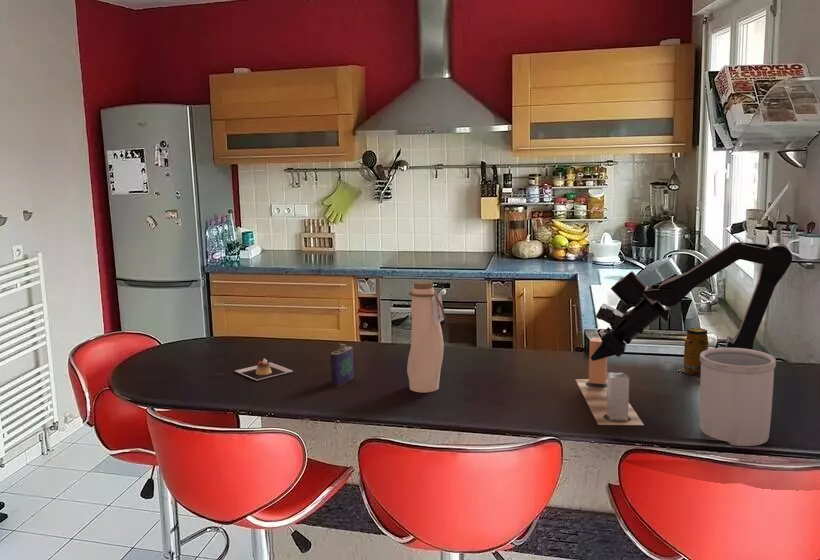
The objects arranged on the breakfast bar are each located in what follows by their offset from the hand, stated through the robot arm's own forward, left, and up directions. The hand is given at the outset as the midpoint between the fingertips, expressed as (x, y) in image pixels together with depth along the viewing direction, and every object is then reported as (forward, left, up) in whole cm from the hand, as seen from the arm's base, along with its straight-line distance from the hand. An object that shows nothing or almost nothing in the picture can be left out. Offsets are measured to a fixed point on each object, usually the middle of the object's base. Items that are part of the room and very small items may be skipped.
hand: (593, 357), depth 192 cm
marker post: (-1, -1, -6) cm, 6 cm away
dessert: (+22, +87, -9) cm, 91 cm away
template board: (-13, 0, -8) cm, 15 cm away
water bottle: (+3, +43, -8) cm, 44 cm away
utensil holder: (-35, -20, -8) cm, 41 cm away
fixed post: (-25, +2, -7) cm, 26 cm away
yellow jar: (+9, -32, -8) cm, 35 cm away
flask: (+10, +65, -8) cm, 66 cm away
